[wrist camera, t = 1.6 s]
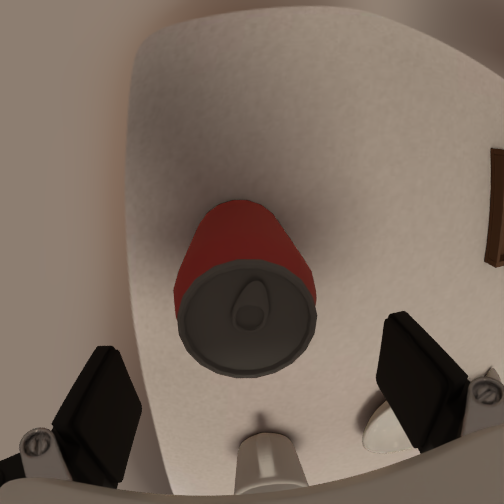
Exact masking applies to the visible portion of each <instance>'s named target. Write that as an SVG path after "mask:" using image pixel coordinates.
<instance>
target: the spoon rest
mask: <svg viewBox="0 0 504 504" xmlns="http://www.w3.org/2000/svg"><path fill="white" fill-rule="evenodd" d="M486 377H491V378H494V379H496V380H498V381H500V382H501V379H500V377H499V375H498V373H497V372H496V370H495V369H494V368H492V369H491V370H490V371H489V372H488V374H487V375H486ZM362 442H363V446H364V447H365V449H367V450H368V451H371V452H374V453H393V452H399V451H403V450H408V449H411V448H414V447H413V446H412V445H411V443H410V441H409V439H408V437H407V436H406V434H405V432H404V430H403V428H402V427H401V425H400V423H399V421H398V419H397V418H396V416H395V414H394V412H393V411H392V409H391V407H390V405H389V404H388V402H387V400H386V401H385V402H384V403H383V404H382V405H381V406H380V407H379V408H378V409H377V410H376V411H375V412H374V414H373V415H372V416H371V418H370V420H369V422H368V424H367V426H366V428H365V430H364V433H363V437H362Z"/></svg>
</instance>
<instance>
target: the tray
mask: <svg viewBox="0 0 504 504" xmlns="http://www.w3.org/2000/svg"><path fill="white" fill-rule="evenodd" d="M484 262H486V263H488V264H490V265H492V266H493V267H495V268H497V267H500V266H504V150H503V149H493V148H491V203H490V218H489V229H488V239H487V247H486V254H485V261H484Z"/></svg>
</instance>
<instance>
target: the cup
mask: <svg viewBox="0 0 504 504" xmlns="http://www.w3.org/2000/svg"><path fill="white" fill-rule="evenodd" d="M308 486H309V485H308V483H307V480H306V477H305V474H304V472H303V469H302V466H301V464H300V461H299V458H298V455H297V453H296V450H295V447H294V445H293V443H292V442H291V441H290V440H289V439H288V438H287V437H285V436H283V435H280V434H276V433H259V434H257V435H254V436H252V437H249V438H248V439H246V440H245V441H244V442H243V443H242V444H241V446H240V448H239V450H238V456H237V467H236V478H235V490H234V495H243V494H256V493H266V492H275V491H282V490H289V489H296V488H302V487H308Z"/></svg>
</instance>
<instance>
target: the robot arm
mask: <svg viewBox="0 0 504 504" xmlns="http://www.w3.org/2000/svg"><path fill="white" fill-rule="evenodd" d="M467 378H468V375H467V374H466V373H465V372H464V371H463V370H462V369H461V368H460V367H459V365H458V364H457V363H456V362H455V361H454V360H453V359H452V358H451V357H450V356H449V355H448V354H447V353H446V352H445V351H444V350H443V349H442V348H441V346H440V345H439V344H438V343H437V342H436V341H435V340H434V339H433V338H432V337H431V336H430V335H429V334H428V333H427V332H426V331H425V330H424V329H423V328H422V327H421V326H420V325H419V324H418V323H417V322H416V321H415V320H414V319H413V318H412V317H411V316H410V315H409V314H408V313H407V312H405V311H401V312H397V313H392V314H390V315H389V316H388V319H385V321H384V327H383V335H382V342H381V349H380V356H379V362H378V368H377V374H376V381H377V384H378V386H379V388H380V390H381V392H382V393H383V395H384V397H385V398H386V400H387V402H388V404H389V405H390V407H391V409H392V411H393V412H394V414H395V416H396V418H397V419H398V421H399V423H400V425H401V427H402V428H403V430H404V432H405V434H406V436H407V437H408V439H409V441H410V443H411V445H412V446H413V447H414V448H418V450H419V451H420V453H421V454H420V455H417V456H414V457H412V458H409V459H406V460H403V461H401V462H398V463H395V464H392V465H389V466H386V467H383V468H380V469H377V470H374V471H370V472H367V473H364V474H360V475H356V476H353V477H349V478H345V479H341V480H337V481H332V482H328V483H323V484H318V485H313V486H308V487H302V488H296V489H289V490H282V491H275V492H266V493H256V494H243V495H222V496H186V495H166V494H152V493H143V492H135V491H126V490H120V489H117V486H118V482H119V483H120V482H122V480H123V477H124V473H125V469H126V466H127V462H128V458H129V454H130V451H131V447H132V444H133V440H134V436H135V433H136V430H137V426H138V423H139V419H140V416H141V412H142V405H141V402H140V400H139V398H138V396H137V393H136V391H135V389H134V386H133V384H132V382H131V379H130V377H129V374H128V372H127V370H126V367H125V364H124V362H123V360H122V357H121V354H120V352H119V351H118V350H115V348H114V347H113V346H97V347H96V349H95V350H94V352H93V354H92V355H91V357H90V358H89V360H88V362H87V363H86V365H85V367H84V368H83V370H82V371H81V373H80V375H79V376H78V378H77V380H76V382H75V383H74V385H73V386H72V388H71V390H70V392H69V393H68V395H67V397H66V399H65V400H64V402H63V404H62V406H61V407H60V409H59V411H58V413H57V415H56V417H55V418H54V420H53V422H52V425H53V429H52V430H51V431H50V430H49V429H46V428H35V429H32V430H30V431H29V432H27V433H26V434H25V435H24V436H23V438H22V439H21V441H20V445H19V448H20V449H19V450H20V453H18V454H16V455H14V456H11V457H9V458H7V459H4V460H2V461H0V504H504V385H503V384H502V383H501V382H500V381H498V380H496V379H494V378H491V377H479V378H476V379H475V380H473V381H472V382H470V381H469V380H468V379H467Z"/></svg>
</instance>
